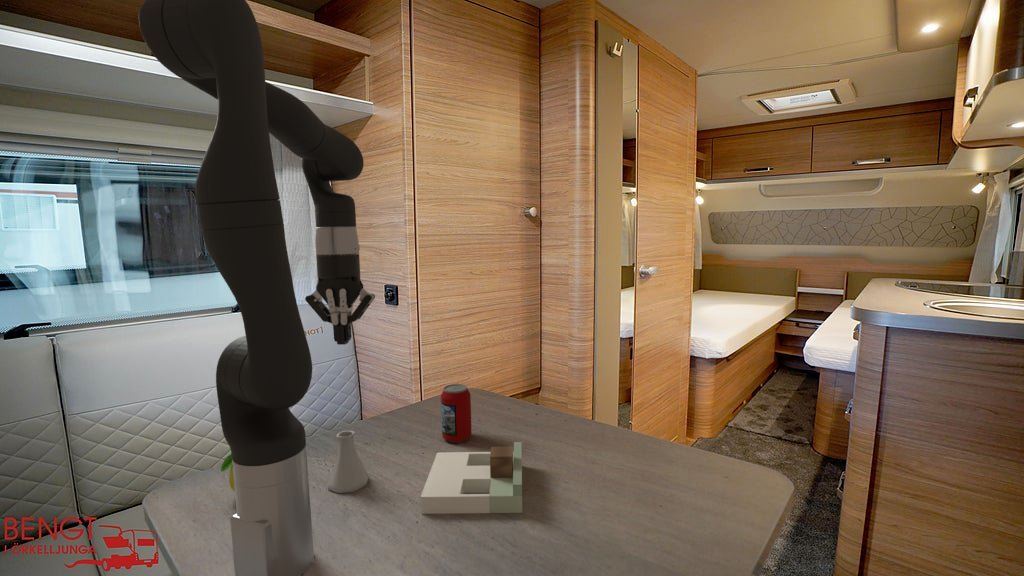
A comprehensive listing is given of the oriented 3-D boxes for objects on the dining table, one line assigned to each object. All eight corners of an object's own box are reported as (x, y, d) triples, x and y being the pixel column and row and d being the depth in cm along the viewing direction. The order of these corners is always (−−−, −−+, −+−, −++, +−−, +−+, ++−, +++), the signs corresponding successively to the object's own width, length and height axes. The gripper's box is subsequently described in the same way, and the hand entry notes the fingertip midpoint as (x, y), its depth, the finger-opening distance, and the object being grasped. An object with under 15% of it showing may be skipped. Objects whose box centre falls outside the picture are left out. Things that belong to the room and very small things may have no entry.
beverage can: (438, 435, 113) (436, 385, 111) (466, 430, 115) (464, 381, 114) (447, 447, 106) (445, 394, 105) (476, 440, 109) (474, 389, 108)
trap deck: (421, 513, 81) (419, 485, 81) (437, 466, 97) (436, 442, 97) (522, 512, 81) (521, 484, 80) (521, 465, 97) (521, 441, 97)
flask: (356, 496, 87) (353, 443, 86) (320, 492, 89) (316, 440, 87) (375, 476, 94) (372, 427, 93) (341, 473, 96) (339, 424, 94)
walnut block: (490, 478, 87) (489, 456, 86) (491, 467, 91) (491, 446, 90) (512, 477, 86) (512, 456, 86) (513, 467, 90) (512, 446, 90)
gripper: (292, 253, 86) (299, 348, 88) (366, 252, 85) (371, 348, 87) (311, 251, 93) (317, 339, 95) (379, 250, 93) (383, 339, 95)
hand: (343, 343), depth 91 cm, fingers closed
